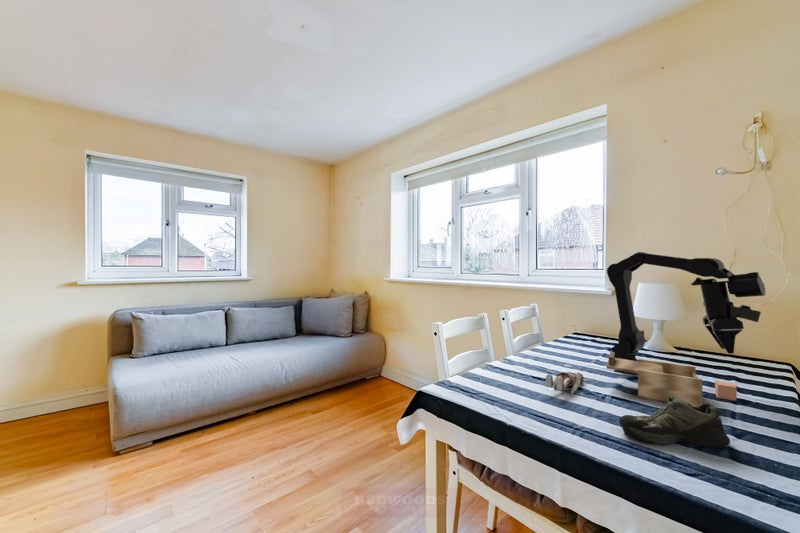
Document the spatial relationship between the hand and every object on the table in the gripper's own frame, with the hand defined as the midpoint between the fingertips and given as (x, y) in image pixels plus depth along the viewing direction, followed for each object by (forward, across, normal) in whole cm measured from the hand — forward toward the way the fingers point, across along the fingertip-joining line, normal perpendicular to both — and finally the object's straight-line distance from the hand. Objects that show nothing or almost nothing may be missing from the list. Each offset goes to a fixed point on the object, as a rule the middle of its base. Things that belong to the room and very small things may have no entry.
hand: (727, 351), depth 98 cm
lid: (+4, -10, +23) cm, 25 cm away
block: (+13, 0, +3) cm, 14 cm away
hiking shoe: (+14, -39, +18) cm, 45 cm away
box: (+12, -9, +16) cm, 22 cm away
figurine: (+9, -21, +42) cm, 47 cm away
